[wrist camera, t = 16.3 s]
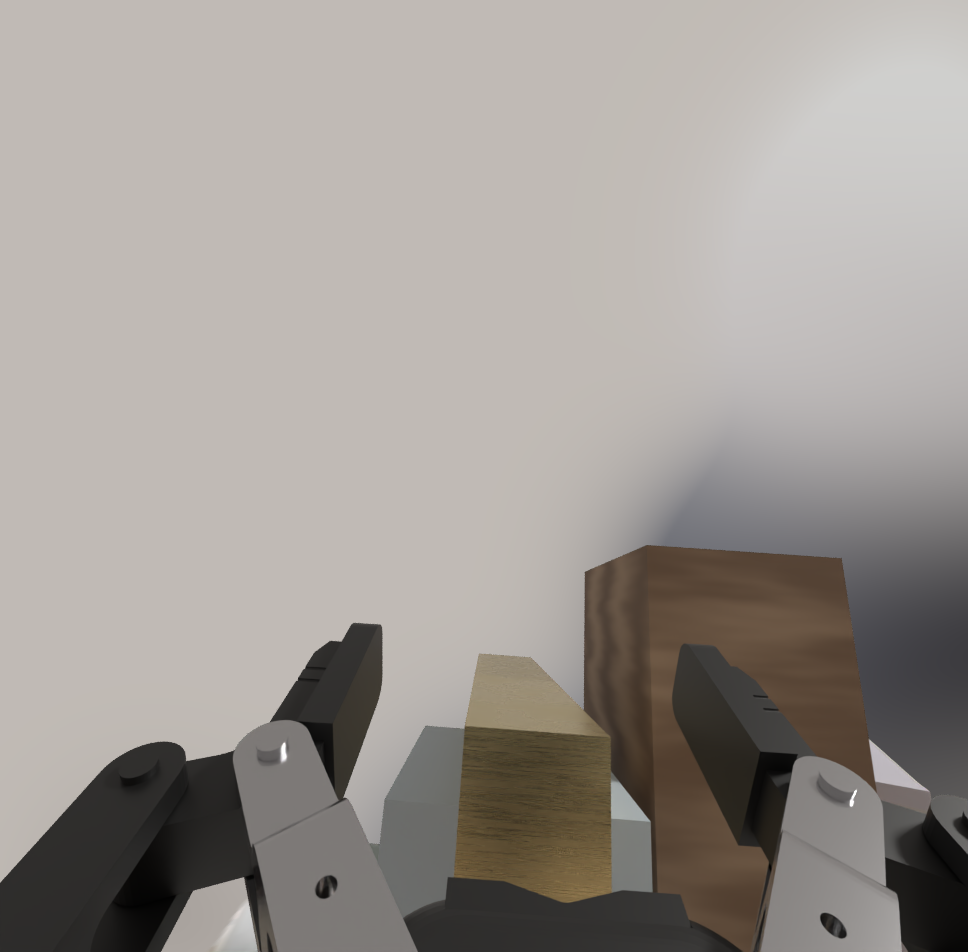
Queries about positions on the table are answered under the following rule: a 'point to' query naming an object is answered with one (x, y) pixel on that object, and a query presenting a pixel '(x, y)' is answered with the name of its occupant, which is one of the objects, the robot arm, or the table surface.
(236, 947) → the table surface
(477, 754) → the bar
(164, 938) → the robot arm
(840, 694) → the stand
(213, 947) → the table surface
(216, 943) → the table surface
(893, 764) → the game console
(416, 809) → the block
